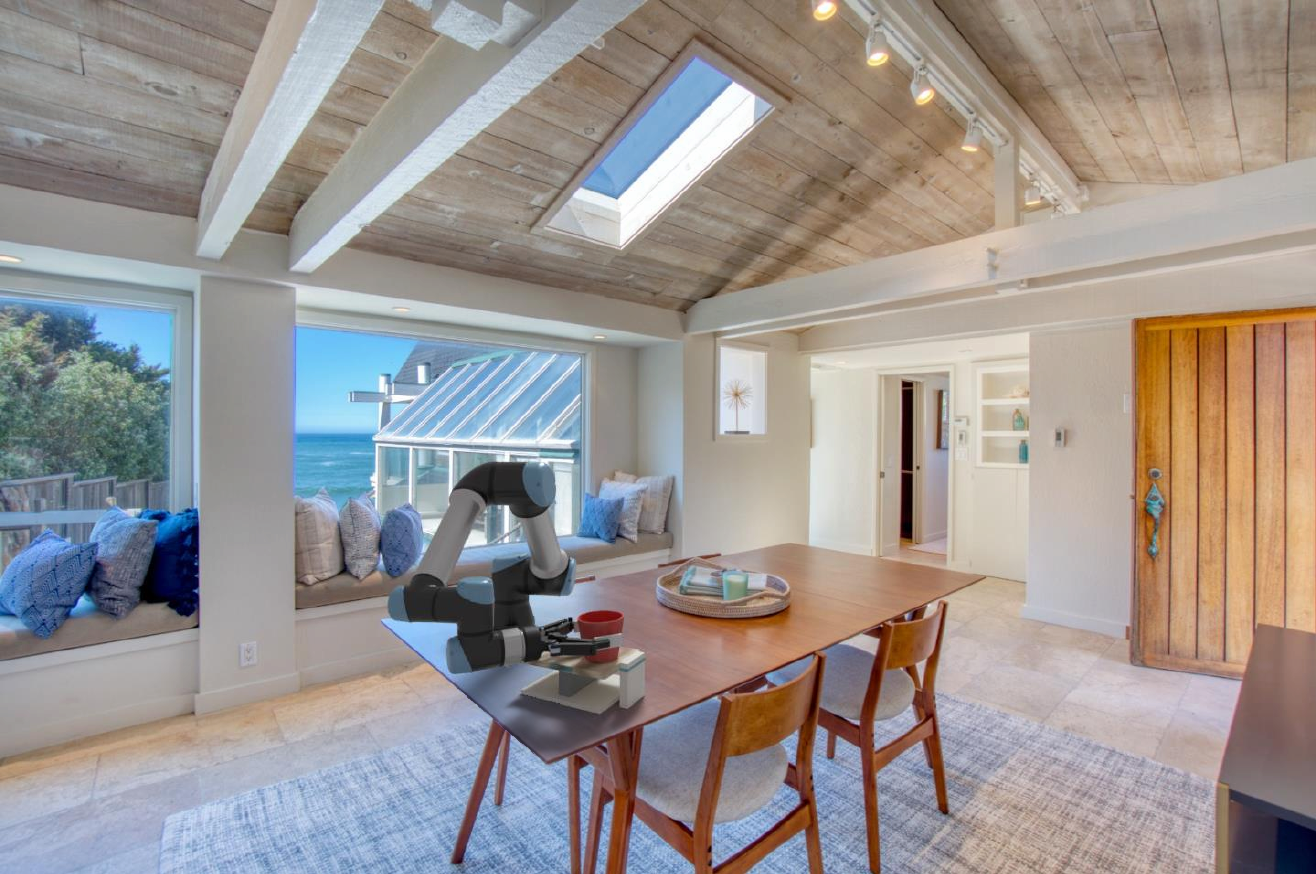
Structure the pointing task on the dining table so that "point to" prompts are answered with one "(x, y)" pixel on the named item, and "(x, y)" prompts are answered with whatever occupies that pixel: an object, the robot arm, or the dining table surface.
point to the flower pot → (601, 631)
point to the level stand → (593, 687)
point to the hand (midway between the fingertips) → (610, 630)
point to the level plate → (583, 664)
